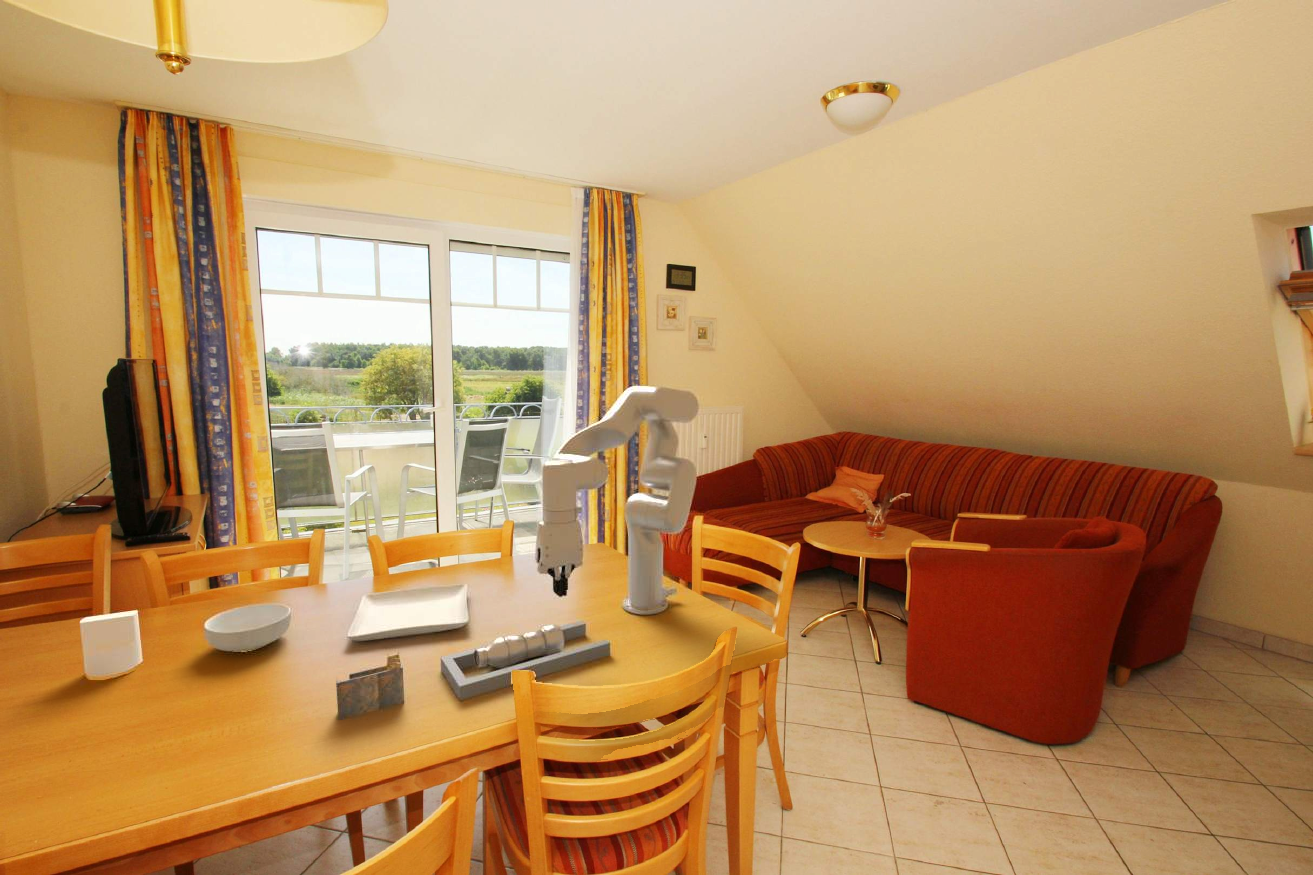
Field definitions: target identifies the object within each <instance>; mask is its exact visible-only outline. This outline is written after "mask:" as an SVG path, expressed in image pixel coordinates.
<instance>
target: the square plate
mask: <svg viewBox="0 0 1313 875" xmlns="http://www.w3.org/2000/svg"><path fill="white" fill-rule="evenodd" d="M467 596H468V584H467V583H457V584H447V585H446V584H445V585H435V586H425V587H415V588H406V589H397V590H391V591H390V590H389V591H382V592H375V593H368V594H364V595H362V598H361V601H360V603H359V607H358V608H357V612H356V613H355V616H354V619H353V620H352V623H351V625H350V626H349V630H348V632H347V635H346V638H348V639H350V640H352V641H355V642H364V641H372V640H374V641H375V640H383V639H384V638H385V639H389V638H390V639H392V638H398V637H399V638H400V637H406V636H407V637H408V636H415V635H421V634H422V635H423V634H432V633H438V632H444V631H449V630H454V629H455V630H457V629H459V628H462V627H464V626H465V625H466V624H467V623H468V622H469V617H470V616H469V608H468V601H467V599H468V598H467Z"/></svg>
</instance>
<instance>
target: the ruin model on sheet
mask: <svg viewBox="0 0 1313 875" xmlns="http://www.w3.org/2000/svg"><path fill="white" fill-rule="evenodd" d="M338 677H339V676H335V682H336V683H335V685H336V702H337V705H336V706H337V716H338V721H339V720H341V721H342V720H344V719H347V718H351V717H355V716H359V715H363V714H365V713H366V714H367V713H370V712H374V711H378V710H382V709H386V708H389V707H392V706H396V705H400V704H404V703H405V691H404V690H405V689H404V688H405V687H404V686H405V685H404V667H403V664H402V662H401V658H400V653H399V651H397V653H395V654H391V655H387V657H386V665H382V666H377V667H373V668H370V669H365V670H360V671H355V672H351V673H349V676H348V678H349V679H346V680H341V681H339V678H338Z"/></svg>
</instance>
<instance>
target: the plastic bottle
mask: <svg viewBox="0 0 1313 875" xmlns="http://www.w3.org/2000/svg"><path fill="white" fill-rule="evenodd" d="M560 626H561V625H560ZM560 626H559V625H557V624H547V625H545V626H542V627H540V628H538V629H536V630H532V631H529V632H527V633H522V634H517V635H508V636H500V637H497V638H495V639H493V640H492V641H491V642H490V643H489V644H487V645H488V647H487V648H484V647H483V648H481V649H476V650H475V651H474V662H475V665H476V666H475V667H476V668H483V667H487V666H488V665H489V666H491V667H494V668H496V669H504V668H507V667H511V666H513V665H516V664H517V663H519V662H522V661H525V660H528V659H531V658H537V657H541V656H543V657H544V656H549V655H553V654H556V653H560V652H562V650H563V649H564V646H565V641H564V635H563V631H562V629H561V628H560Z"/></svg>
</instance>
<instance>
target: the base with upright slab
mask: <svg viewBox="0 0 1313 875" xmlns="http://www.w3.org/2000/svg"><path fill="white" fill-rule="evenodd" d="M138 612H139V611H138V610H137V609H136V610H130V611H129V610H128V611H122V612H115V613H113V612H112V613H107V614H99V615H93V616H86V617H84V618H82V619H81V620H80V621H79V628H80V637H81V639H80V640H81V647H82V654H83V663H84V673H86V675H88V676H90V677H103V676H110V675H115V674H117V673H121V672H125V671H127V670H130V669H132V668H134V667H135V666H137V665H138V664H140V663H141V662H142V661H143V654H142V653H143V652H142V651H143V650H142V642H141V633H140V622H139V613H138ZM86 675H85V676H86Z"/></svg>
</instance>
